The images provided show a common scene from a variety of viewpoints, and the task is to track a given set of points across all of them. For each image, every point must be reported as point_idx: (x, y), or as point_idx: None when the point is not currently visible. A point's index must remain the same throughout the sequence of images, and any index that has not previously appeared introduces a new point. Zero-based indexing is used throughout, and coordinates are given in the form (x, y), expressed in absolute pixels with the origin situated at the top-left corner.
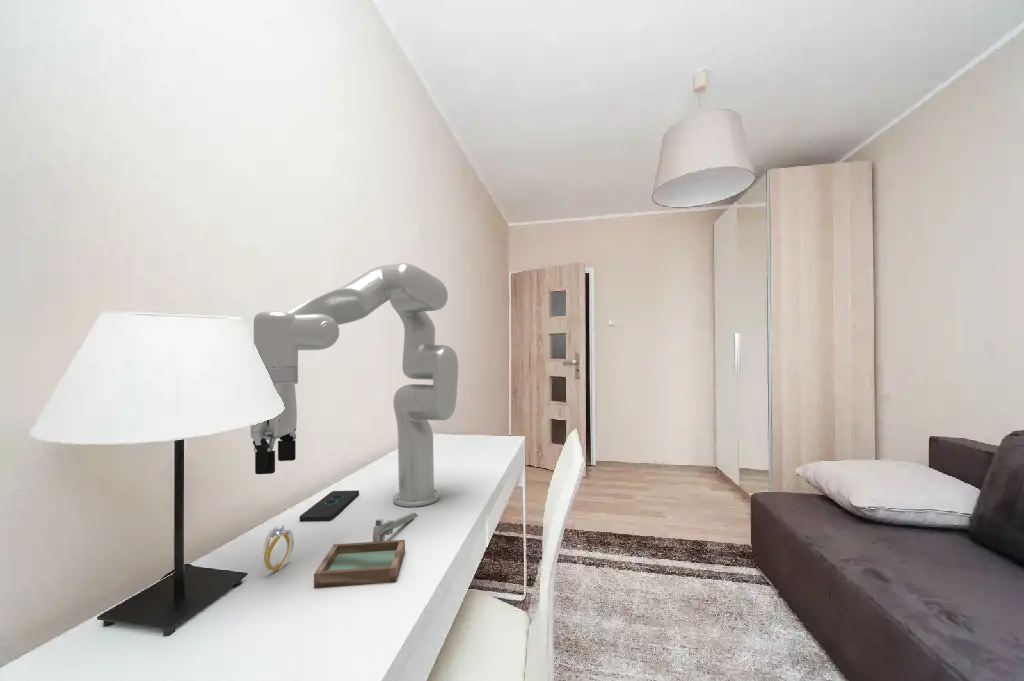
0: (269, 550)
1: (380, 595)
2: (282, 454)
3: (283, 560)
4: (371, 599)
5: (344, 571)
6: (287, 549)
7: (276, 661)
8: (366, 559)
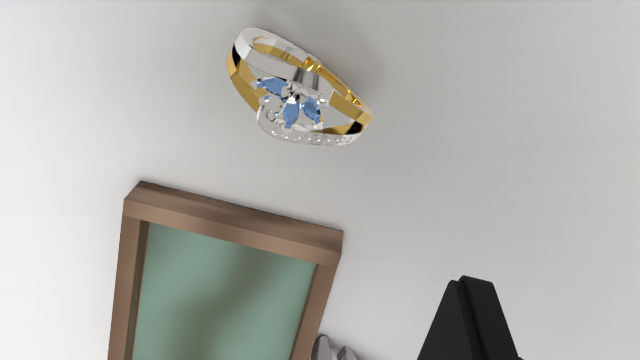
0: (227, 64)
1: (63, 325)
2: (445, 352)
3: (330, 82)
4: (48, 306)
5: (120, 277)
6: (356, 102)
7: None
8: (243, 321)
